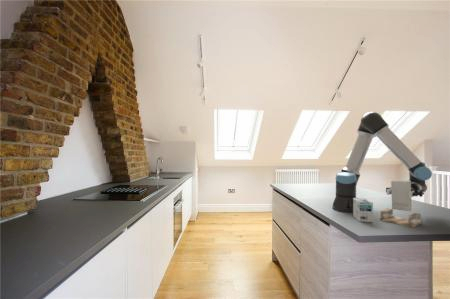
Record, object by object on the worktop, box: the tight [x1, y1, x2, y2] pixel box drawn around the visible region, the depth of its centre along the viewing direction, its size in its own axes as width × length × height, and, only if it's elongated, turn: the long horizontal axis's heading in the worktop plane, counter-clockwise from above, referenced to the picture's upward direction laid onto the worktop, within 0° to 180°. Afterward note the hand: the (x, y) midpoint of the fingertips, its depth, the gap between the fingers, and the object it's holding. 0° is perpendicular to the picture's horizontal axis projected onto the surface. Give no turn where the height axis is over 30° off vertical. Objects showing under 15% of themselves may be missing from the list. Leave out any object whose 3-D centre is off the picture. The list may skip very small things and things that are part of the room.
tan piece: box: [379, 207, 422, 228], centre depth 125 cm, size 15×12×5 cm
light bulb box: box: [352, 197, 374, 223], centre depth 128 cm, size 11×7×11 cm, turn 168°
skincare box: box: [390, 179, 412, 212], centre depth 125 cm, size 8×7×16 cm
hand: (398, 193), depth 122 cm, fingers closed on skincare box, 9 cm apart
